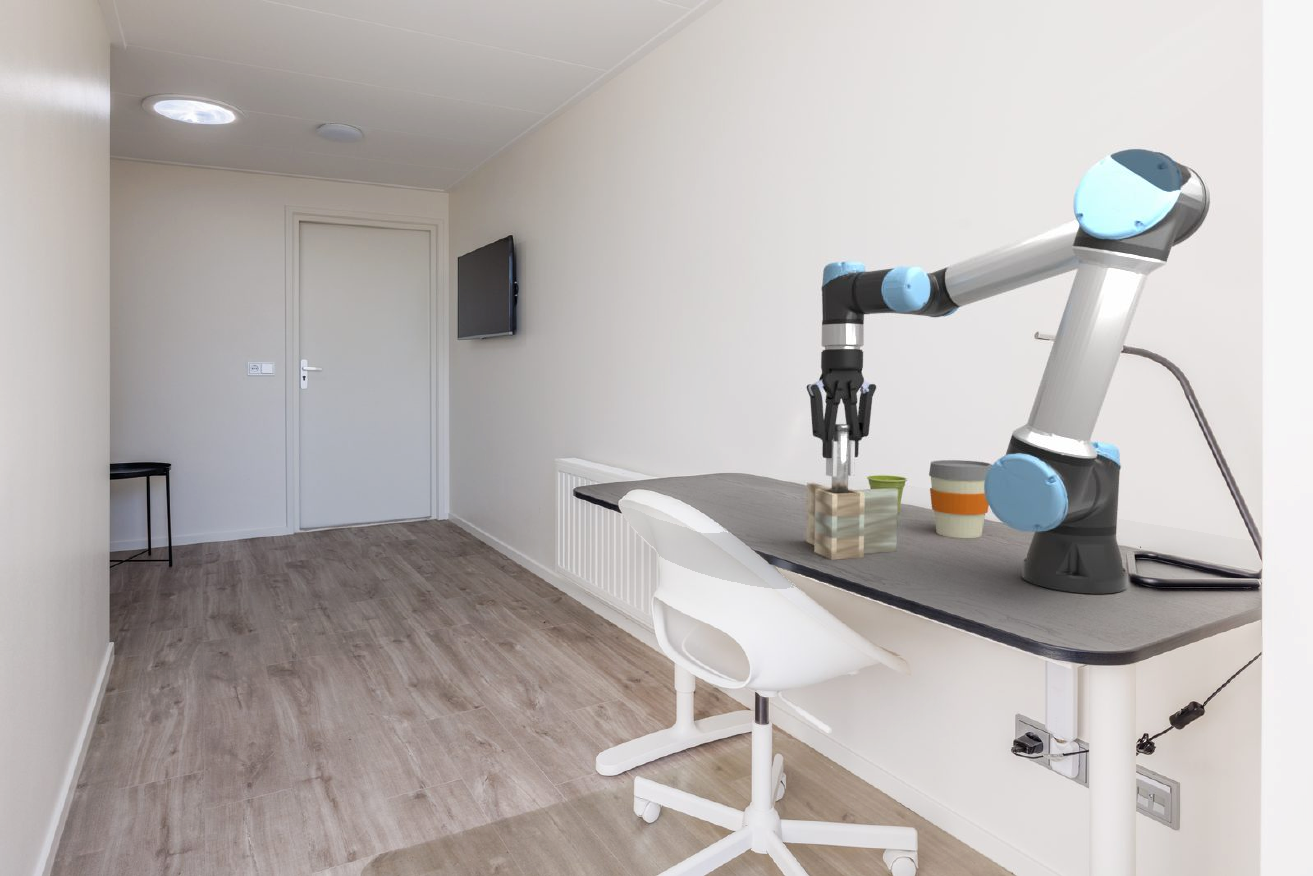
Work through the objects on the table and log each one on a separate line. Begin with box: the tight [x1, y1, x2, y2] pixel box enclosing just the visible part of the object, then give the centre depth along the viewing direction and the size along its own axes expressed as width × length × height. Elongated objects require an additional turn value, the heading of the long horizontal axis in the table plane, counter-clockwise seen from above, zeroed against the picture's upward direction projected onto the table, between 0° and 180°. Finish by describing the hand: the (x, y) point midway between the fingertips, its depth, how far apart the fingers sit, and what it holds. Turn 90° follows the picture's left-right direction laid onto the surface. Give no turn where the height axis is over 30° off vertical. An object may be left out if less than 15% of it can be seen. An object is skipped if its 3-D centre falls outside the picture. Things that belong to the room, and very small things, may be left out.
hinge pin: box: [831, 423, 850, 494], centre depth 146 cm, size 3×3×15 cm
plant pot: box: [866, 474, 908, 515], centre depth 191 cm, size 9×9×9 cm
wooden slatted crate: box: [805, 482, 898, 561], centre depth 152 cm, size 15×15×12 cm
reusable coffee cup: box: [928, 459, 993, 539], centre depth 166 cm, size 12×13×15 cm
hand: (840, 475), depth 146 cm, fingers closed on hinge pin, 3 cm apart
